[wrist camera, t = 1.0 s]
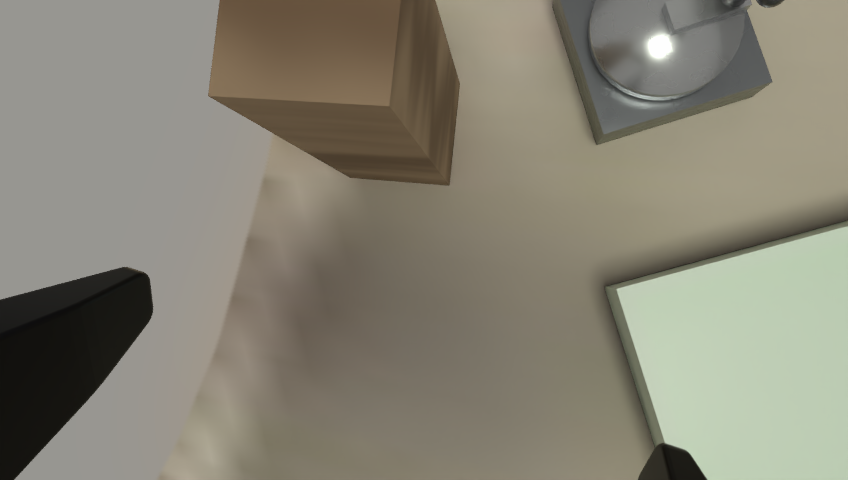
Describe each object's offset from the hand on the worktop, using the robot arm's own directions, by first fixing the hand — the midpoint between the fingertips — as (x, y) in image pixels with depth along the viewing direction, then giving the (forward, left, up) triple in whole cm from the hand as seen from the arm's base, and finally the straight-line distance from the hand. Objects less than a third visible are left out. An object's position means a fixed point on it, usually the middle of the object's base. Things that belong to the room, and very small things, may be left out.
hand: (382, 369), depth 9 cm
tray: (+12, -7, -17) cm, 22 cm away
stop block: (-1, +9, -17) cm, 20 cm away
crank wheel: (+11, +9, -15) cm, 21 cm away
